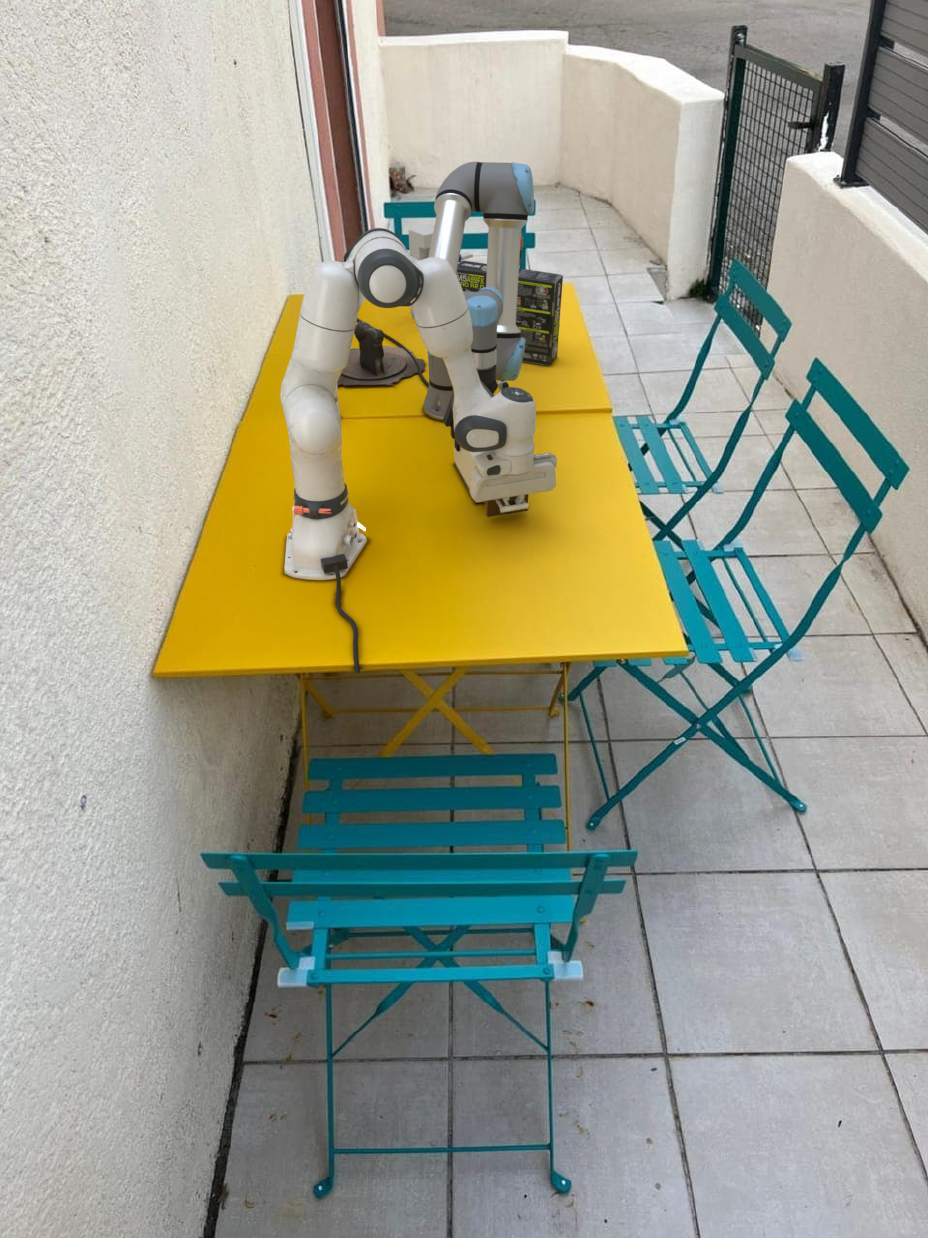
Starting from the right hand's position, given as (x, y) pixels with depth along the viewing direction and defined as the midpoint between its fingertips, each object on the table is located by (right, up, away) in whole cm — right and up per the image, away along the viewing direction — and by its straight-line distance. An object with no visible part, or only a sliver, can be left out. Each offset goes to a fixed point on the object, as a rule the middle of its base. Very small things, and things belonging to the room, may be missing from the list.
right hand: (480, 445), depth 226 cm
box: (+9, +41, +60) cm, 73 cm away
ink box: (-44, +13, +27) cm, 54 cm away
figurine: (+13, +70, +94) cm, 118 cm away
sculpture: (-34, +34, +52) cm, 71 cm away
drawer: (+5, -15, -8) cm, 18 cm away
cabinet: (+1, -9, +1) cm, 9 cm away
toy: (-16, +59, +82) cm, 102 cm away
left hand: (+7, -19, -18) cm, 27 cm away
